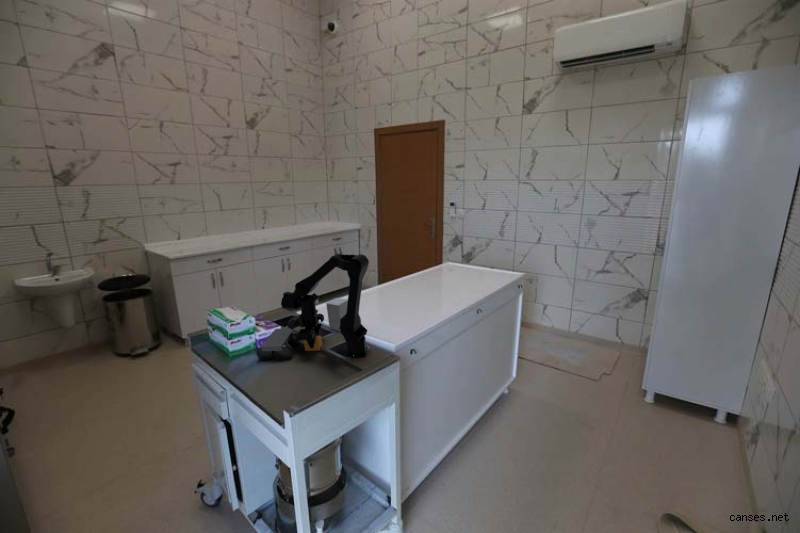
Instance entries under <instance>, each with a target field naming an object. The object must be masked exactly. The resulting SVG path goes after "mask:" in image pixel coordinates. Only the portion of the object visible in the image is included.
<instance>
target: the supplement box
mask: <svg viewBox="0 0 800 533" xmlns="http://www.w3.org/2000/svg"><path fill="white" fill-rule="evenodd" d="M347 303H348V298H346V299H344V298H339V297H335V298H333V299H331V300H329V301H328V302H326V311H327V313H326V314H327V318H328V319H327V320H328V326H329V329H330V330H334V331H339V332H340V329H339V327H340V319H341V318H342V317H343V316H344V315H345V314H346V313H347Z"/></svg>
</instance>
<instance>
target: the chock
mask: <svg viewBox="0 0 800 533" xmlns="http://www.w3.org/2000/svg"><path fill="white" fill-rule="evenodd" d="M303 344H304V345H303V346H304V351H305V352H313V351H315V352H316V351H318V352H319V351H321V349H320V347H321V345H322V346H323V340H322V335H318V336H316V339H315V343H314V348H310V346H309V344H308V342H307V341H306V340H303ZM321 348H322V347H321Z"/></svg>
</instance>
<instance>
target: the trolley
mask: <svg viewBox="0 0 800 533" xmlns="http://www.w3.org/2000/svg"><path fill="white" fill-rule="evenodd" d="M298 332H299V330H296V328H294V329H292V330H291V329H290V328H288V327H287V328H275V329H274V330H273V331H272V332H271V333H270V335H269V336H268V337H267V339H266V340H265V341H264V342H263V343H262V344H261V345H260V346H259V347H258V348H257V350H256V356H257V358H258V359H259V360H261V361H263V362H268V361H270V360H271V359H272V358H273V356H275V358H276V359H277V360H279V361H282V362H283V361H287V360H288V359H289V358H290V357H291V355H292V354H293V348H292V347H296V346H298V344H299V343H300V341H301V340H297V339H296V335H297V333H298Z"/></svg>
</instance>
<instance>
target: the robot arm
mask: <svg viewBox="0 0 800 533" xmlns="http://www.w3.org/2000/svg"><path fill="white" fill-rule="evenodd" d="M369 263H370V261H369V258H367V256H366V255H364V254H361V253H359V254H344V253H343V254H342V253H336V254H333V255H332V256H330V258H329V259H328V260H327V261H326V262H324V263H323V264H322V265H321V266H320V267H319V268H318V269H316V270H315V271H314V272H313V273H312V274H310V275H309V276H307V277H305V278H302V280H300V281H298V282H297V283H296V284H294V291H293V292H291V291H284V292H283V296H282V299H281V302H280V304H281V307H282V309H284V310H285V309H286V310H295V311H296V310H299V309H300V311H301V312H300V314H299V315H296V316H294V317H291V318H290V319H289V320H288V321H287V329H288V328H290V329H291V330H292V329H296V328H299V327H300V329H299V330H298V333H297V335H296V339H297V340H300V341H304V340H306V341H307V342H308V344H309V346H310V348H314V343H315V339H316V336H320V335H319V334H320V332H321V329H322V326H323V324H322V323H323V322H324V321H325V316H324V314H322V313H318V312H319V310H318V309H317V308H316V307H317V306H316V301H317V300H319V299H320V296H319V295H318V294H316V293H315V292H313V291H315V289H316V288H317V287H318V286H319V284H320V282H321V281H322V280H323V279H324V278H325V277H326V276H328V275H329V274H330V273H331V272H332V271H333V270H335V269H336V268H338V269H340V270H342V271H344V272H345V271H346V272H347V273H346V274H347V276H348V279H349V287H348V296H347V300H348V303H347V313H346V314H345V315H344V316H343V317H342V318H341V319H340V327H339V329H340V331H339V332H340V334H341V335H342V336H343V339H344V341H345V343H346V347H347V353H348V357H349V356H353V355H354V356H358V357H357V358H365V357H366V356H367V351H368V347H367V342H366V335H367V334H368V329H367V328H366V327H365V326H364V325H363V324H362V318H361V316H360V305H361V297H362V296H361V295H362V287H363V280H364V277H365V275H366V273H367V271H368V267H369ZM311 292H313V293H312V294H310V293H311ZM319 322H321V323H319Z"/></svg>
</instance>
